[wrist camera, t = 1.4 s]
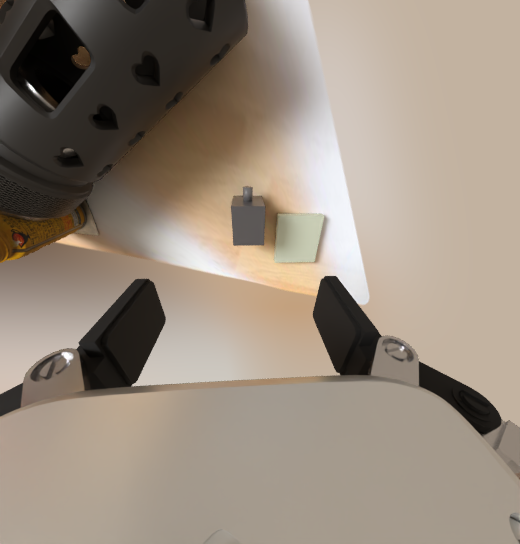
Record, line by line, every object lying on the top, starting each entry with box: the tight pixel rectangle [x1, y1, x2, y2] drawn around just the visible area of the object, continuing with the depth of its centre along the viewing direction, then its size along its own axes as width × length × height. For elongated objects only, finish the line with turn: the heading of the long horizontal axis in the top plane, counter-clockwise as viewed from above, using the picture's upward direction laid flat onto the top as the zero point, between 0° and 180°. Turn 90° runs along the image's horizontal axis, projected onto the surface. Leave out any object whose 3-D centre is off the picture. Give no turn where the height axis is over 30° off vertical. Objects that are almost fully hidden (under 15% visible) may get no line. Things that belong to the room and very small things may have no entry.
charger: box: [231, 186, 265, 245], centre depth 25 cm, size 7×4×6 cm, turn 179°
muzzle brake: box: [0, 0, 248, 222], centre depth 16 cm, size 10×28×10 cm, turn 123°
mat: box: [274, 214, 324, 263], centre depth 30 cm, size 8×7×1 cm
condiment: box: [0, 200, 99, 263], centre depth 20 cm, size 7×8×12 cm
